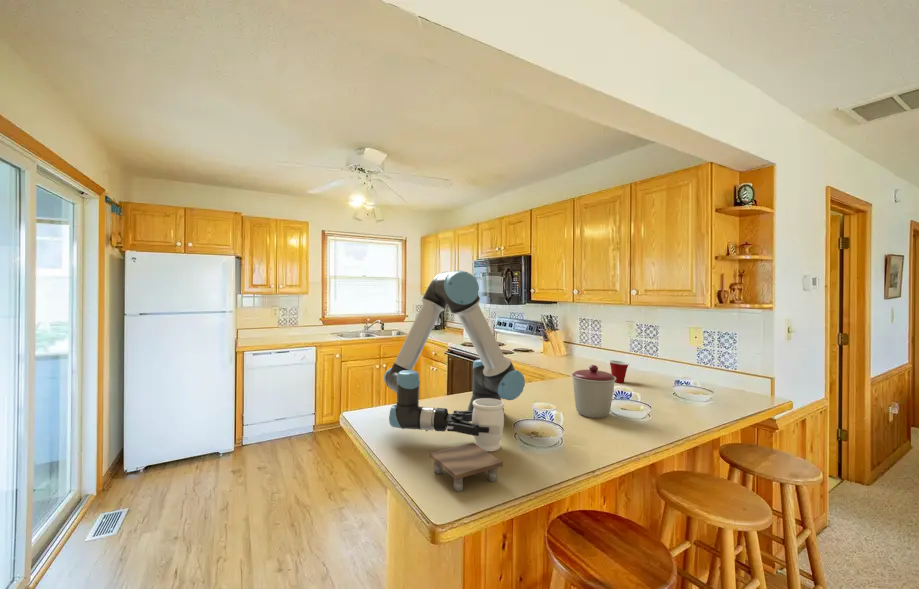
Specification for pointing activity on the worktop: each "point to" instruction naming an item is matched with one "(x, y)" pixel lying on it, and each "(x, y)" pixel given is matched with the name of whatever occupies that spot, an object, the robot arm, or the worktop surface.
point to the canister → (593, 392)
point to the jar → (488, 421)
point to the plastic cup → (618, 370)
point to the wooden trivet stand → (465, 463)
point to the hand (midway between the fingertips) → (500, 423)
